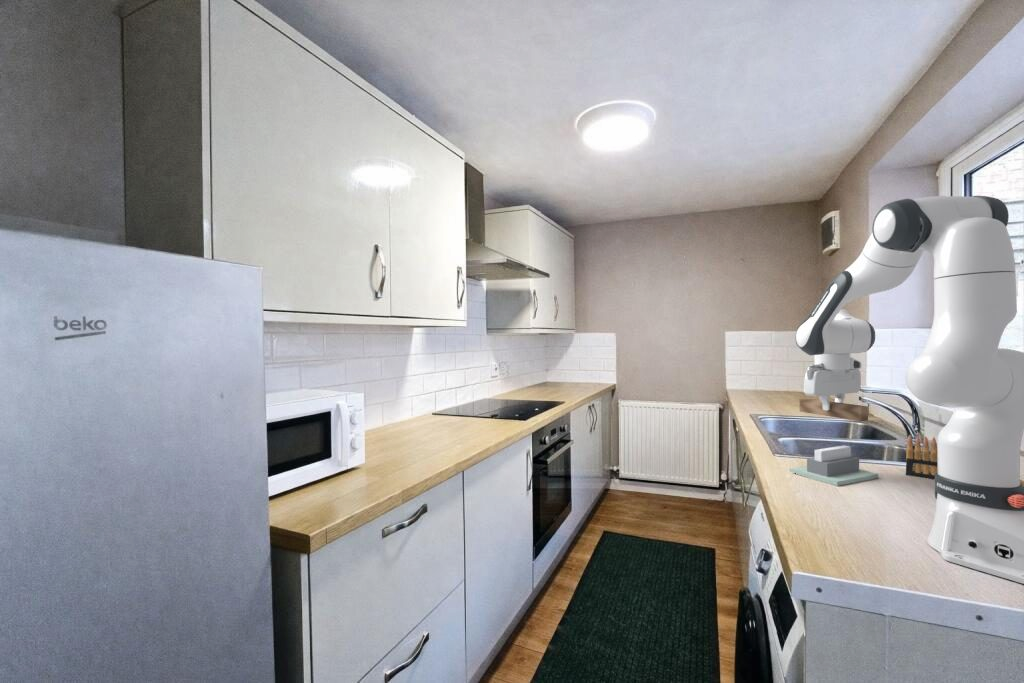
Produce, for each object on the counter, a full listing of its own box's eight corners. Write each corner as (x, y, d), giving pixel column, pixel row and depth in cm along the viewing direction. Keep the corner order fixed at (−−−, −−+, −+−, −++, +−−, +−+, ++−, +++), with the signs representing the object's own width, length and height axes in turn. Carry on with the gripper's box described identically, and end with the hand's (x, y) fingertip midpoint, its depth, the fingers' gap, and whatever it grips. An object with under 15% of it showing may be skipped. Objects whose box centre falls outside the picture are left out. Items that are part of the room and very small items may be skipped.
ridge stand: (878, 477, 133) (878, 450, 133) (836, 486, 126) (836, 457, 126) (829, 465, 146) (829, 440, 146) (789, 472, 139) (789, 446, 139)
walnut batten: (868, 420, 128) (868, 406, 128) (861, 421, 127) (861, 407, 127) (806, 410, 145) (806, 398, 145) (799, 411, 144) (799, 398, 144)
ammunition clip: (905, 475, 135) (905, 434, 135) (906, 473, 137) (905, 433, 136) (955, 482, 128) (955, 440, 128) (956, 481, 129) (955, 438, 129)
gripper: (818, 365, 129) (818, 413, 129) (865, 362, 137) (865, 408, 137) (797, 363, 135) (797, 410, 135) (843, 361, 143) (843, 405, 143)
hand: (832, 409), depth 136 cm, fingers closed on walnut batten, 3 cm apart
